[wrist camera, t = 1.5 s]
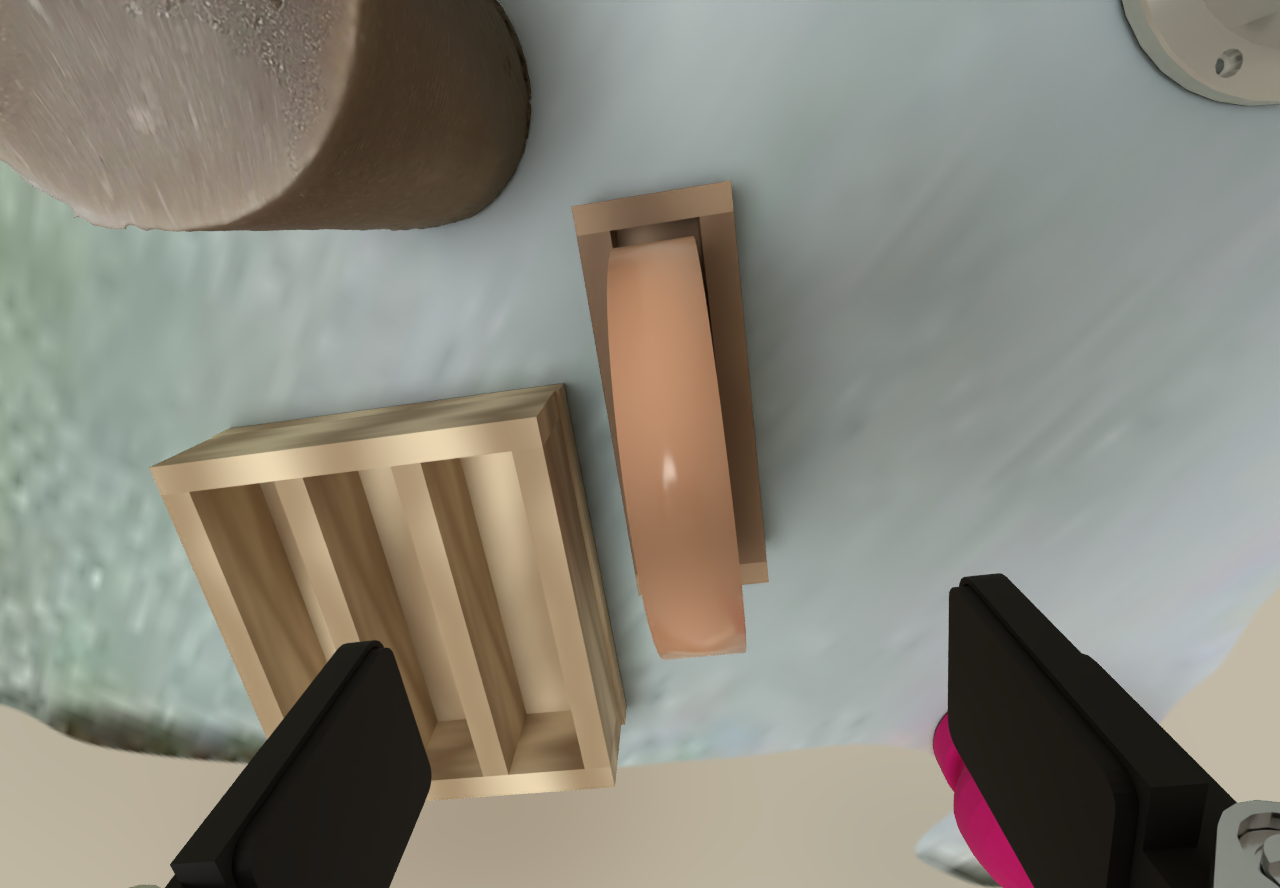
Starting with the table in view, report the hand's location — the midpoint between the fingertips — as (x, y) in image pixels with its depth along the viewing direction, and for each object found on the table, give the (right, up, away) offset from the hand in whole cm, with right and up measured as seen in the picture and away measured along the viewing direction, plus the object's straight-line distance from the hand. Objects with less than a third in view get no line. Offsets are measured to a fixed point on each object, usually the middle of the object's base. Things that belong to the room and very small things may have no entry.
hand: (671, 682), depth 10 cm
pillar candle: (-10, +17, +14) cm, 24 cm away
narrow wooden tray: (+1, +6, +17) cm, 18 cm away
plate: (+1, +6, +16) cm, 17 cm away
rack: (-10, -3, +21) cm, 24 cm away
